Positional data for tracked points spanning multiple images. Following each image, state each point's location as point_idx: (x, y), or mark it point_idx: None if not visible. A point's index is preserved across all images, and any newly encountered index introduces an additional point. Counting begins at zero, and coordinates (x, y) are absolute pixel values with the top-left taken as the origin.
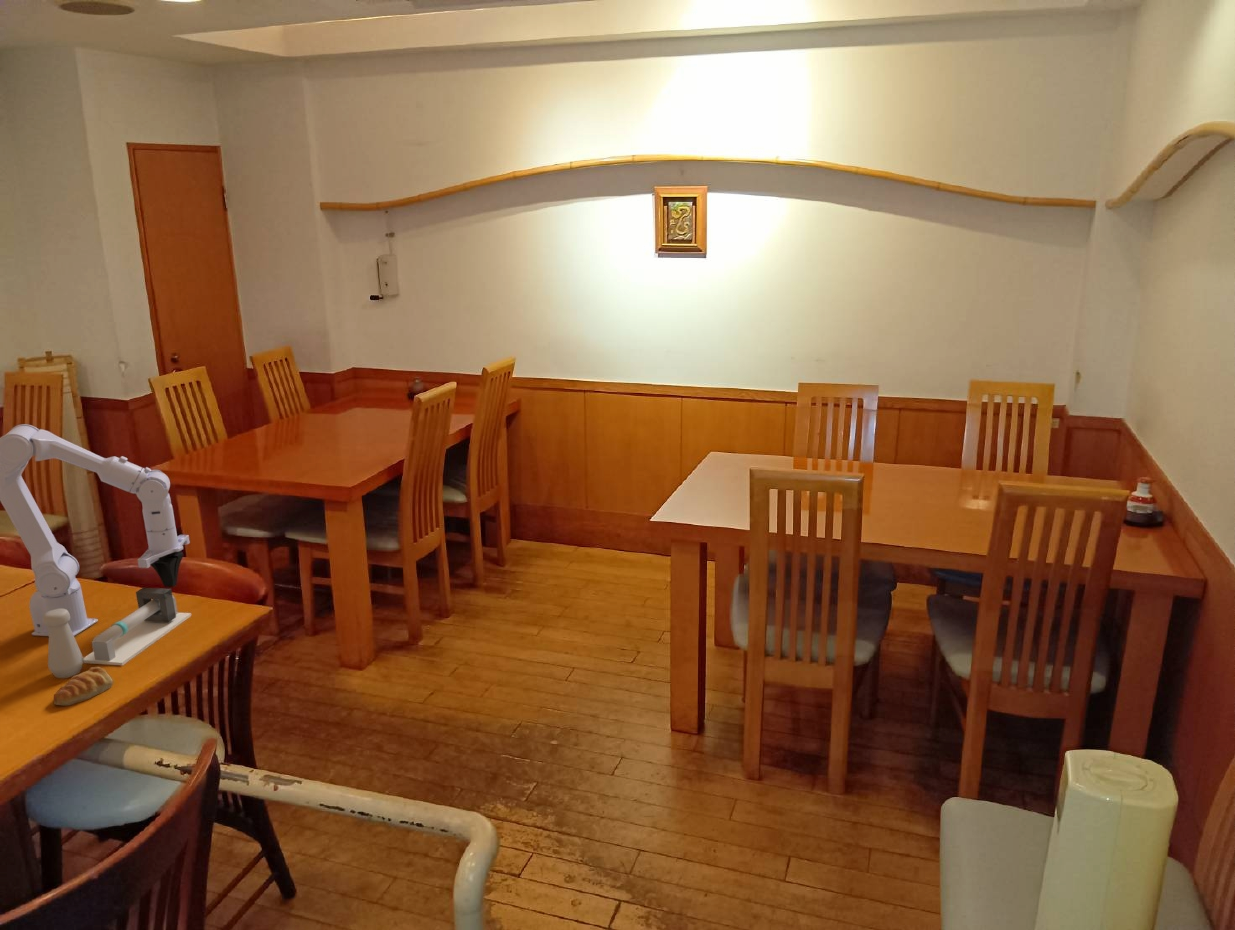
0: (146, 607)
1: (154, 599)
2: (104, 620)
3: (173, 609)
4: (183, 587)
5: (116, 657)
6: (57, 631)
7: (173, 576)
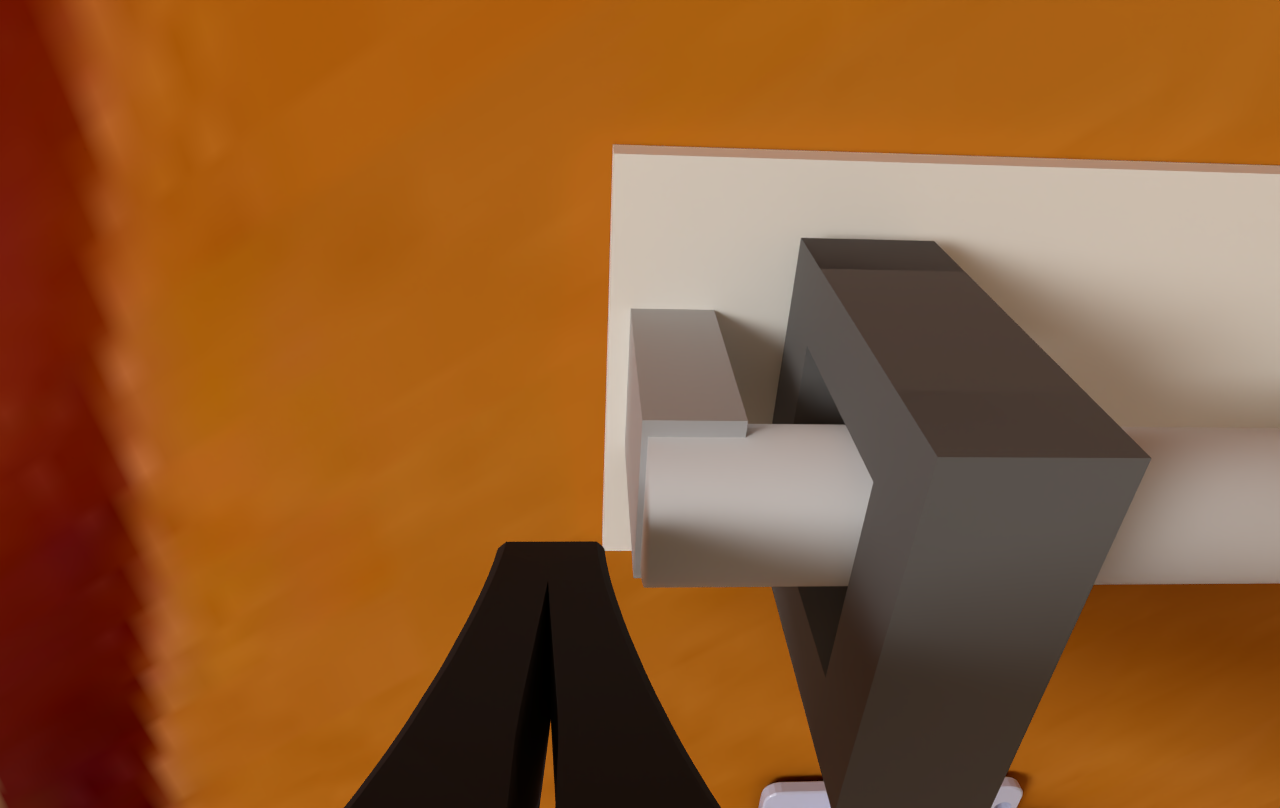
0: (1158, 519)
1: None
2: (743, 758)
3: (858, 283)
4: (19, 606)
5: None
6: None
7: (597, 667)
